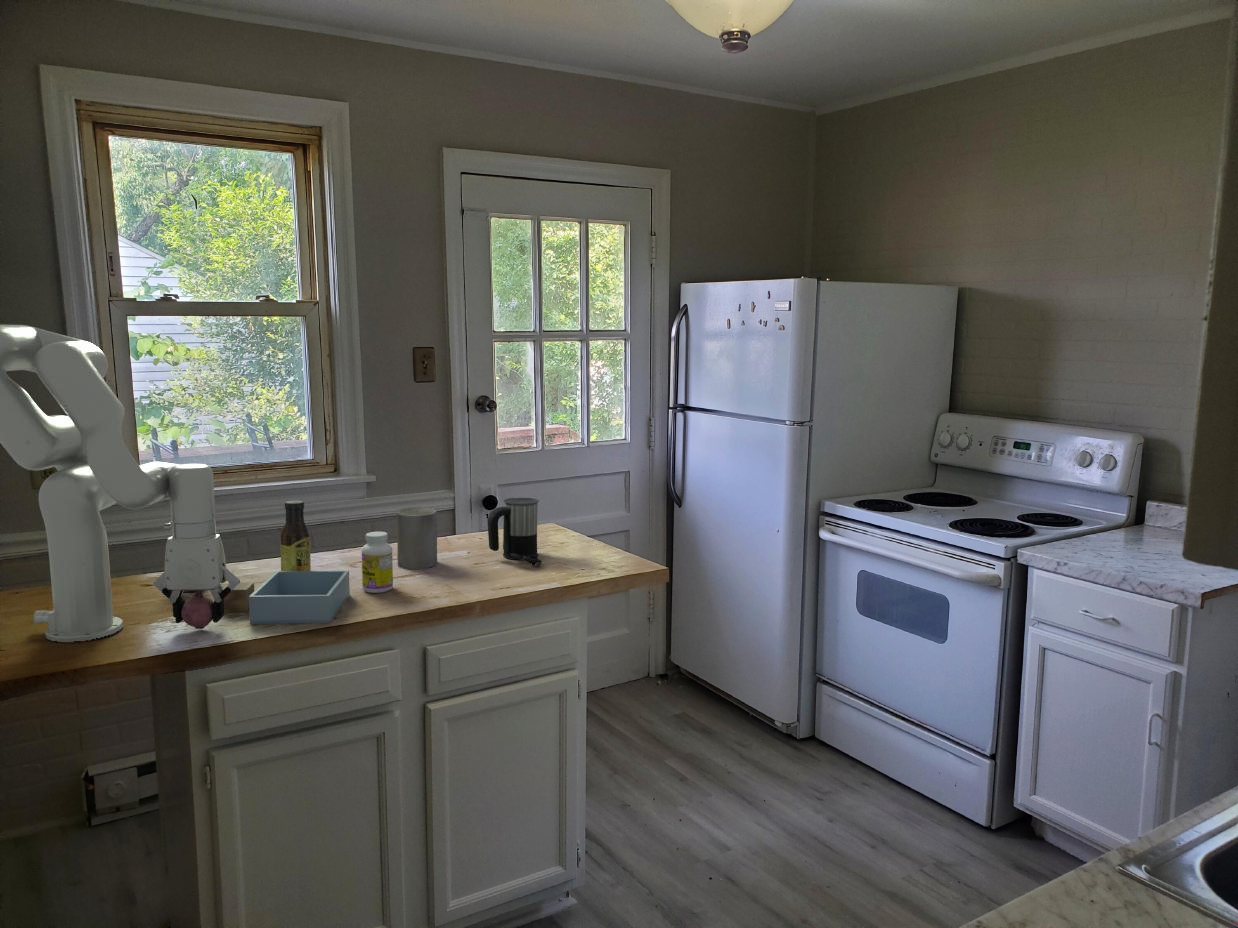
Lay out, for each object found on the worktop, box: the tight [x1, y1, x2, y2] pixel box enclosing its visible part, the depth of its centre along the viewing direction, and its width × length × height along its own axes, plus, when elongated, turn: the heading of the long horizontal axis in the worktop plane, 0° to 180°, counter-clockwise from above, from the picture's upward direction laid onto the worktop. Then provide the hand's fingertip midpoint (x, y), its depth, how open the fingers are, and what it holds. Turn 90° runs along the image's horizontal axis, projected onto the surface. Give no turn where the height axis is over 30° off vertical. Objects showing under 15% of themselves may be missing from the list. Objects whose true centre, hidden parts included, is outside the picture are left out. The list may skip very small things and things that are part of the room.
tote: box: [248, 570, 351, 625], centre depth 182 cm, size 15×18×6 cm
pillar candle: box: [396, 505, 438, 570], centre depth 217 cm, size 10×10×15 cm
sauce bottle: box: [279, 500, 312, 571], centre depth 195 cm, size 7×6×20 cm
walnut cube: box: [222, 582, 255, 614], centre depth 181 cm, size 5×5×5 cm
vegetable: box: [181, 590, 214, 631], centre depth 168 cm, size 6×6×10 cm
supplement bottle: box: [361, 531, 394, 594], centre depth 196 cm, size 7×7×13 cm
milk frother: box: [487, 497, 543, 566], centre depth 223 cm, size 14×16×15 cm
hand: (199, 619), depth 168 cm, fingers closed on vegetable, 6 cm apart
